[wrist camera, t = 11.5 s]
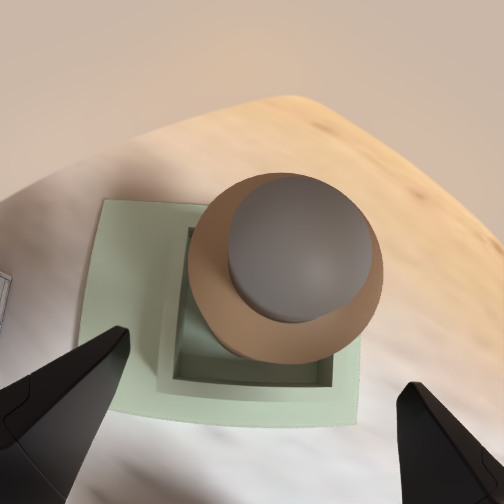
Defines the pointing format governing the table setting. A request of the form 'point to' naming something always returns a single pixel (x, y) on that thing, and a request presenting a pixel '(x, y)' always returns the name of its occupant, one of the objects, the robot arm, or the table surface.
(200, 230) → the pepper mill
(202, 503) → the table surface
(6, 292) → the medicine box
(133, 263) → the sage tray
